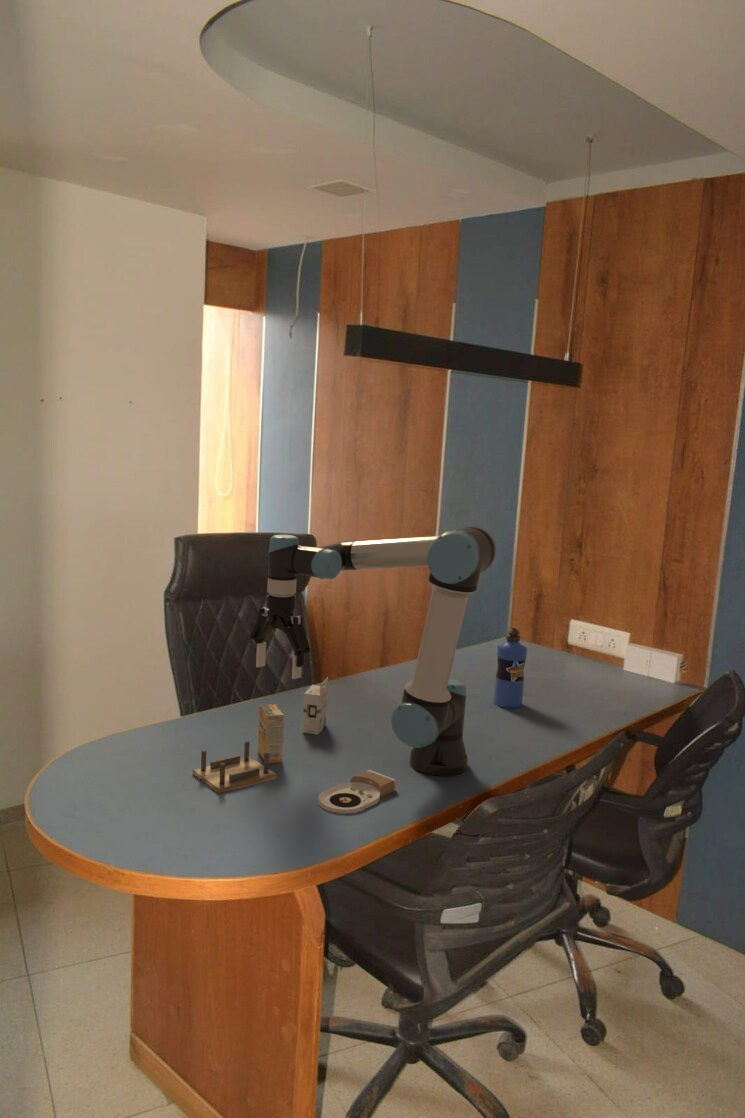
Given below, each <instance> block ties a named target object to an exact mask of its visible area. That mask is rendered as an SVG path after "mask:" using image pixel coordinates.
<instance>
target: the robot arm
mask: <svg viewBox="0 0 745 1118" xmlns="http://www.w3.org/2000/svg"><path fill="white" fill-rule="evenodd" d="M269 539H270V540H269V546H268V547H269V548H268V552H267V554H268V574H267V586H266V587H267V589H266V592H267V593H268V594H267V595H266V606H264V607H260V608H259V611H258V616H257V618H256V621H255V624H254V626H253V628H252V629H251V630H252V631H251V633H250V635H249V638H250V639H251V640H254V643H255V647H254V648H255V649H254V650H255V651H254V652H255V654H256V657H255V658H256V659H255V661H256V662H255V667H256V668H262V667H265V666H266V655H267V642H266V639H267V638H268V636H269V635H270V633H272V631H273V630H274V629H278V630H280V631H282V632H283V633H284V634H285V635H286V638H287V639H288V641H289V643H290V645H291V647H292V649H293V651H294V654H292V668H291V669H292V670H291V680H296V679H301V678H302V670H303V669H302V667H303V666H304V660H305V659H304V658H305V657H304V656H305V655H307V654H309V653H310V652H311V648H310V644H309V641H308V637H307V634H306V631H305V627H304V619H303V615H297V616H295V615H294V610H295V609H296V604H297V603H296V601H297V599H296V598H297V596H296V595H295V594H296V593H297V577H298V575H300V576H306V577H311V578H318V579H320V580H321V579H322V580H324V579H326V580H333V579H335V578H337V576H338V575H339V574H340V572H342V571H356V570H370V569H372V570H373V569H393V568H396V569H397V568H416V567H417V568H418V567H420V568H421V567H427V568H428V569H429V576H428V580H427V581H428V583H429V585H430V586H431V587H432V592H431V595H430V599H429V600H430V601H429V605H428V609H427V613H426V619H425V621H424V622H425V623H424V627H423V628H424V629H423V632H422V637H421V640H420V646H419V650H418V654H417V659H416V662H415V667H414V672H413V677H412V680H411V681H408V682H407V683H406V684H405V685H404V689H403V691H402V693H403V694H402V697H401V701H400V704H398V705H397V706H396V707H395V709H394V710H393V712H392V714H391V720H390V721H391V728H392V731H393V733H394V734H395V735H396V738H397V739H398V740H399V741H400V742H402V743H403V744H404V745H405V746H408V747H411V748H412V749H411V751H410V755H409V765H410V766H411V767H412V768H413V769H415V770H416V771H418V772H421V773H423V774H429V775H432V776H433V775H434V776H442V777H443V776H444V777H445V776H455V775H460V774H461V773H464V772H465V771H467V769H468V761H469V760H468V755H467V754H466V748H465V744H464V743H465V742H464V738H463V737H464V727H465V726H464V723H465V714H466V713H465V712H466V711H465V710H466V702H467V701H466V699H467V687H466V685H465V684H464V683H463V682H461V681H459V680H456V679H453V678H450V677H451V672H452V668H453V663H454V659H455V654H456V651H457V647H458V642H459V637H460V633H461V629H462V626H463V620H464V617H465V611H466V607H467V604H468V599H469V597H470V596H472V595H473V594H475V593H476V592H477V589H478V586H479V585H478V584H479V581H480V576H481V573H483V572H485V571H487V569H489V568H490V567H491V565H492V564H493V563H494V561H495V557H496V554H497V553H496V552H497V549H496V548H497V547H496V543H495V540H494V538H493V537H492V535H491V534H490V533H489V532H487V530H485V529H483V528H480V527H477V526H467V527H463V528H460V529H452V530H447V531H445V532H443V533H442V534H441V535H433V536H432V535H430V536H429V535H428V536H417V537H416V536H415V537H404V538H403V537H401V538H400V537H399V538H387V539H373V540H372V539H371V540H359V541H358V540H357V541H350V540H345V541H344V540H342V541H338V542H335V543H331V544H327V545H326V544H325V545H322V546H317V547H316V546H306V545H300V544H299V543H300V542H299V537H298V536H295V535H292V534H274V535H272V536H271V537H270V538H269Z"/></svg>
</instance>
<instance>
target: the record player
mask: <svg viewBox="0 0 745 1118" xmlns="http://www.w3.org/2000/svg"><path fill="white" fill-rule="evenodd" d="M397 788H398V784H397V781H396V779H395V778H392V777H389V776H387V775H384V774H382V773H379V772H377V771H374V770H372V769H367V770H365V771H363V772H360V773H358V774H356V775H353V776H352V777H351V779H350V781H348V782H343V783H339V784H337V785H334V786H332V787H330V788H327V789H325V790H324V791H322V792H320V793H319V795H318V805H319V806H320V807H321V808H323V810H326V811H328V812H331V813H335V812H336V813H335V814H342V815H344V814H345V813H349V814H356V813H360V812H362V811H364V810H366V809H365V808H367V809H368V807H369V808H371V807H372V805H373V806H374V804H375V805H376V804H378V803H379V802H380V800H381V798H384V797H386V796H387V795H389V793H390V794H392V793H393V792H395V790H397ZM391 792H392V793H391ZM378 801H379V802H378ZM377 802H378V803H377ZM370 806H371V807H370ZM359 811H360V812H359Z"/></svg>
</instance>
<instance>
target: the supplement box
mask: <svg viewBox="0 0 745 1118" xmlns="http://www.w3.org/2000/svg"><path fill="white" fill-rule="evenodd" d="M258 715H259V716H258V717H259V719H258V739H257V740H258V741H257V742H258V744H257V746H258V747H257V752H258V753H259V755H260V756H261V758H262V760H263V761H264V753H269V764H274V763H283V749H284V748H283V746H284V724H285V714H284V712H282V710H281V709H280V707H279V706H278V705H277V704H276V703H275V704H261V705H259V714H258Z"/></svg>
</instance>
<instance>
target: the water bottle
mask: <svg viewBox="0 0 745 1118" xmlns="http://www.w3.org/2000/svg"><path fill="white" fill-rule="evenodd" d="M507 633H508V634H506V637H505V639H506V641H505V642H502V643H499V644H497V648H496V649H497V652H496V653H497V654H496V656H497V670H496V674H495V680H494V681H495V682H494V693H493V694H494V695H493V705H495V706H496V705H497V706H496V707H498V706H499V707H498V708H501V707H503V708H502V709H507V708H510V709H509V710H513V709H514V708H516V709H519V708H522V706H523V696H524V687H525V686H524V684H525V678H524V677H525V676H524V675H525V674H524V669H525V664H526V659H527V656H528V647H526V646H525V645H524V644H521V642H520V641H521V635H520V633H521V632H520V630H518V629H517V628H514V627H511V628H510V629H509V630H508V631H507ZM512 708H513V709H512ZM514 710H515V709H514Z"/></svg>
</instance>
